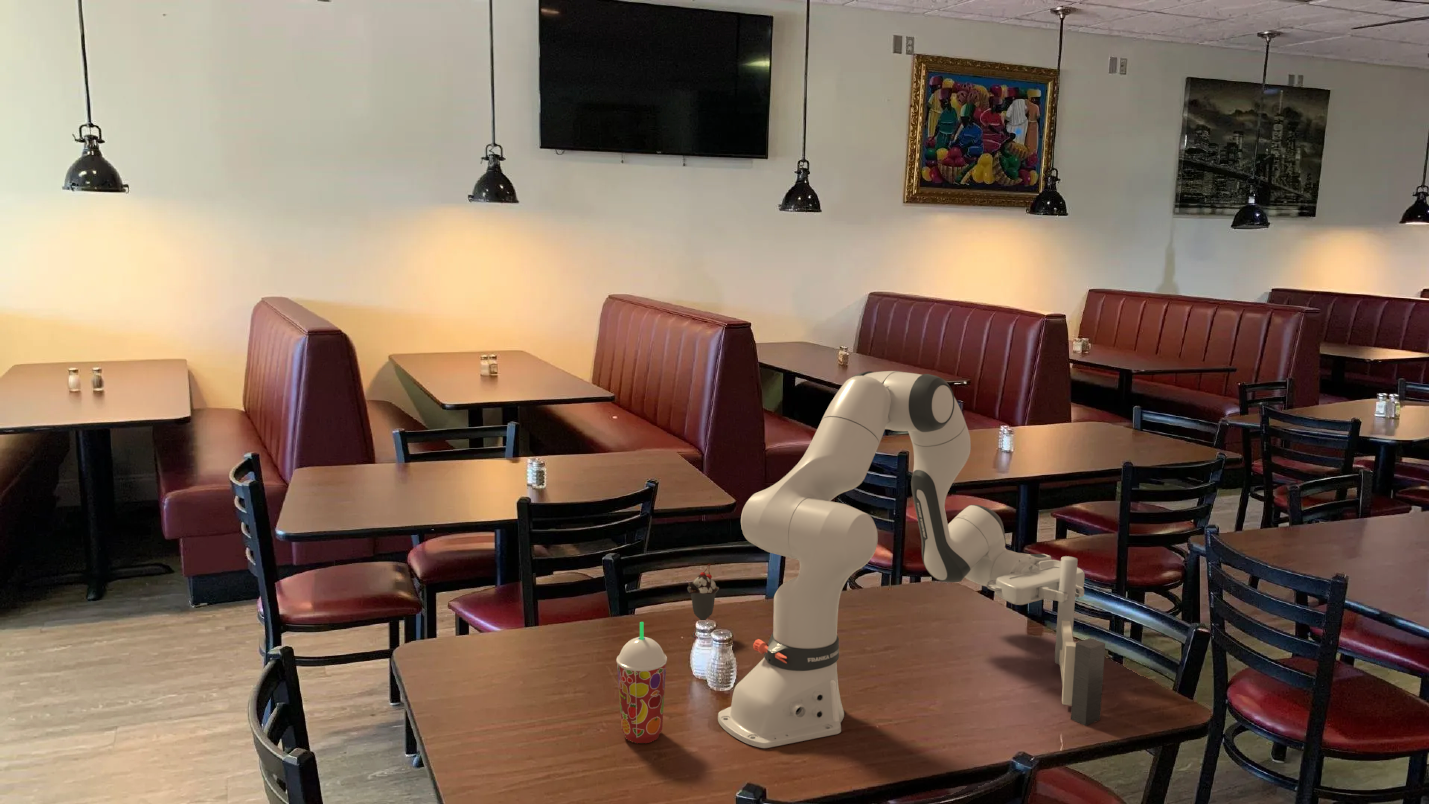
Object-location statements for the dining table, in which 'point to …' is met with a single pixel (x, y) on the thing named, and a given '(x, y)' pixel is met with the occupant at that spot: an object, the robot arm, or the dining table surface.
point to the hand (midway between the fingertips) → (1073, 595)
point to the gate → (1066, 627)
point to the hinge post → (1087, 681)
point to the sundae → (703, 595)
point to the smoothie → (641, 688)
